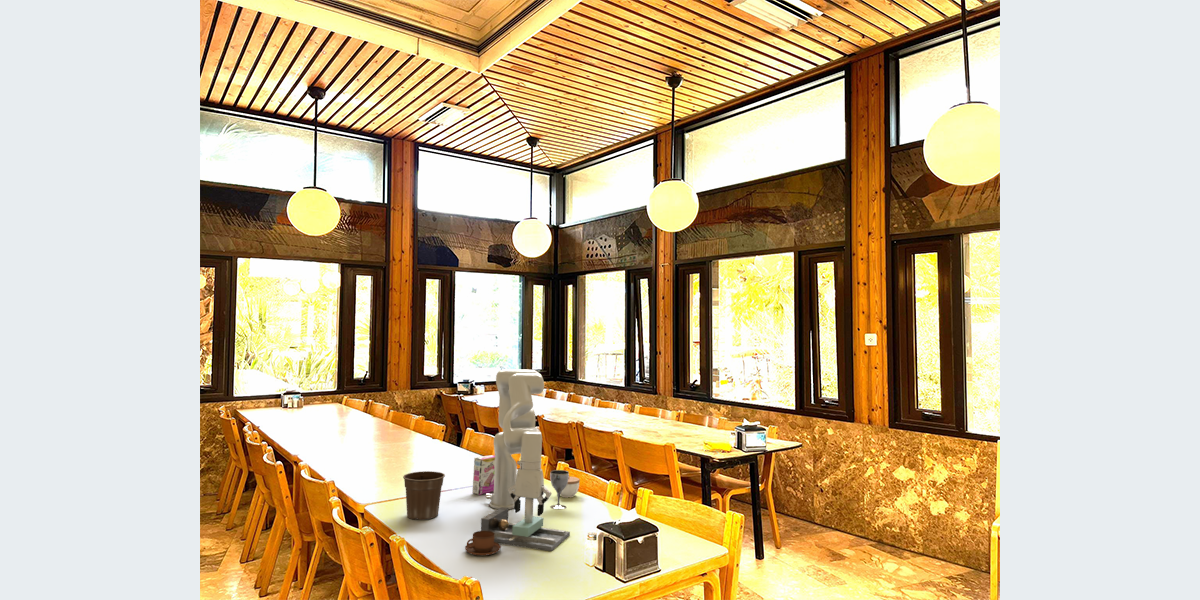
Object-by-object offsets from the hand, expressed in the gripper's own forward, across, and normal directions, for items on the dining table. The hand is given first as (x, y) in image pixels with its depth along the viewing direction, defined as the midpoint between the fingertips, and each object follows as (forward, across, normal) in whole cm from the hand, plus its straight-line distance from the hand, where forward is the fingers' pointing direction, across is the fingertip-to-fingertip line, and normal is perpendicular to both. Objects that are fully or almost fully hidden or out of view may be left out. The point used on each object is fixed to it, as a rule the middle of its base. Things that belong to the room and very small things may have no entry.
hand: (528, 513), depth 228 cm
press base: (+9, -1, 0) cm, 9 cm away
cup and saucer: (+9, -8, -19) cm, 23 cm away
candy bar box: (+9, -45, +51) cm, 69 cm away
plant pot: (+9, -50, +8) cm, 51 cm away
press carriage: (+6, 0, 0) cm, 6 cm away
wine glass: (+9, -5, +43) cm, 44 cm away
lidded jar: (+9, -8, +62) cm, 63 cm away
